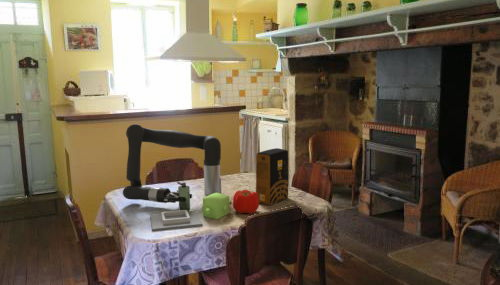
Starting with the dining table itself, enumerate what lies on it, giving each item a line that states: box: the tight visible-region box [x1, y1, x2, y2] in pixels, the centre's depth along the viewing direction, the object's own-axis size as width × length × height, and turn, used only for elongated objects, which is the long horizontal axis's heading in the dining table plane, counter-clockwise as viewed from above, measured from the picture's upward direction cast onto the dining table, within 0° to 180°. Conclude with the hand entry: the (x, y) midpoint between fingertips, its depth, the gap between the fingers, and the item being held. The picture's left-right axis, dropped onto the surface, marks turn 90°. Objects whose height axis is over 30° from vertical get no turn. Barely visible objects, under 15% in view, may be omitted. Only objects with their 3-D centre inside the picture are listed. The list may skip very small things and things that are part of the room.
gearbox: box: [202, 192, 233, 220], centre depth 195 cm, size 18×10×10 cm, turn 147°
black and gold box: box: [255, 147, 289, 206], centre depth 218 cm, size 11×19×28 cm, turn 142°
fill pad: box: [149, 209, 203, 232], centre depth 189 cm, size 22×20×3 cm
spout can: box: [176, 181, 191, 211], centre depth 203 cm, size 6×6×15 cm
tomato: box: [232, 189, 260, 215], centre depth 200 cm, size 14×13×10 cm
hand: (188, 197), depth 203 cm, fingers closed on spout can, 5 cm apart
